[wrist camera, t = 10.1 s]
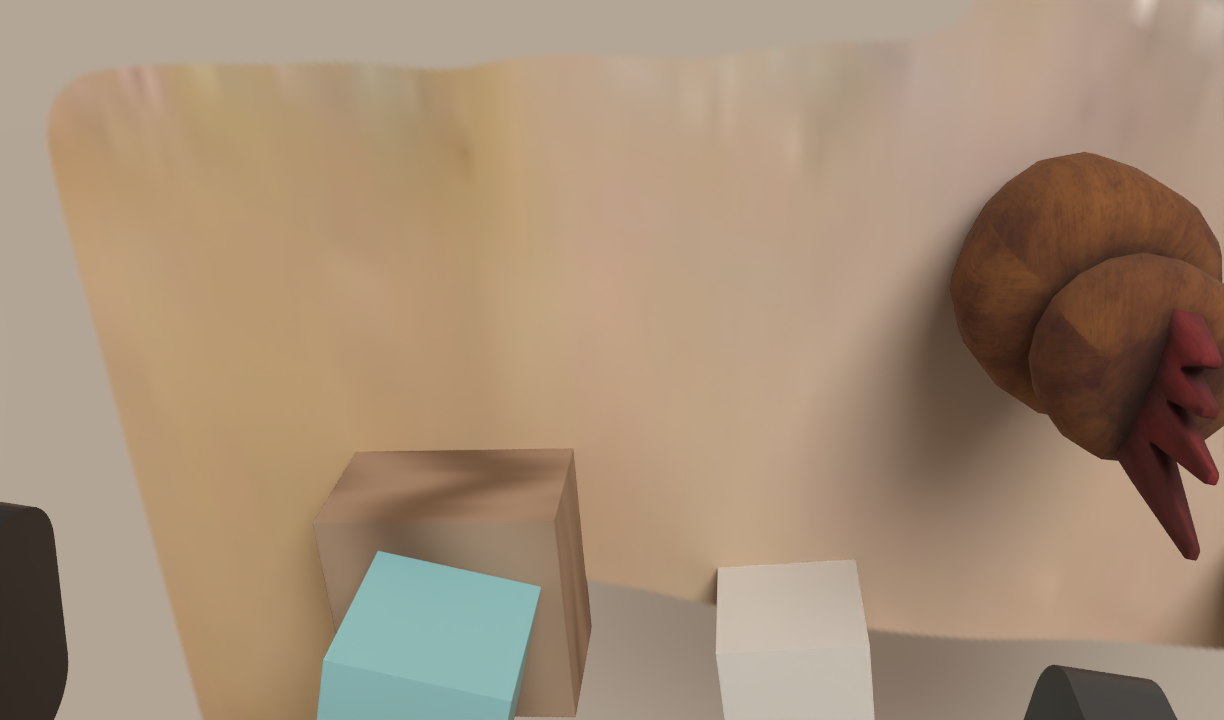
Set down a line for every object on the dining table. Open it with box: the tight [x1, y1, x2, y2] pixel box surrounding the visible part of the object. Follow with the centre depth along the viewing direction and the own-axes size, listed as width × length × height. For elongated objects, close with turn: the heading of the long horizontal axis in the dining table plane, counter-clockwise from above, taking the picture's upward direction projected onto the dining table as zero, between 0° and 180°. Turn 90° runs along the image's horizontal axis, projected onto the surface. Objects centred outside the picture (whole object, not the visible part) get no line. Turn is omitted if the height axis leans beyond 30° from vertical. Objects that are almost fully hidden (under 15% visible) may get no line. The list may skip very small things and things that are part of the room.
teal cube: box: [317, 551, 541, 720], centre depth 36 cm, size 6×6×6 cm
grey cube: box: [716, 559, 874, 720], centre depth 41 cm, size 5×5×5 cm
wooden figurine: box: [950, 152, 1224, 560], centre depth 29 cm, size 7×6×15 cm
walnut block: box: [313, 449, 592, 717], centre depth 41 cm, size 8×8×5 cm
